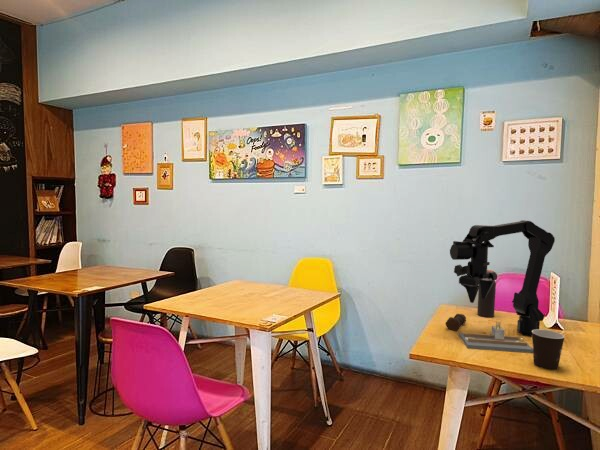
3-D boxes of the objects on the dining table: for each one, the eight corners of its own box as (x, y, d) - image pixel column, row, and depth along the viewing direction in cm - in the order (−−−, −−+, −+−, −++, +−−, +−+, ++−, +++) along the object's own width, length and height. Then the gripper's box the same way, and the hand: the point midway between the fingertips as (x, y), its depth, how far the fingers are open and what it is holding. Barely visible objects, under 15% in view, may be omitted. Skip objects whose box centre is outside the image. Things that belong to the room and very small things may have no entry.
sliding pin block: (500, 338, 145) (500, 321, 145) (503, 342, 141) (504, 324, 141) (491, 338, 146) (492, 320, 145) (494, 341, 142) (495, 323, 141)
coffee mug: (553, 373, 120) (555, 340, 119) (524, 363, 127) (526, 331, 126) (572, 365, 126) (574, 334, 125) (543, 356, 133) (545, 326, 132)
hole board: (519, 340, 149) (520, 334, 148) (534, 353, 136) (535, 346, 136) (458, 335, 152) (459, 329, 152) (467, 348, 139) (468, 341, 139)
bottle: (497, 317, 177) (500, 272, 176) (483, 317, 176) (486, 272, 175) (487, 313, 184) (489, 269, 183) (474, 313, 183) (476, 269, 181)
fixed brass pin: (523, 341, 143) (523, 337, 143) (525, 343, 141) (525, 339, 141) (517, 341, 143) (518, 337, 143) (519, 343, 142) (520, 338, 141)
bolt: (463, 326, 169) (454, 335, 157) (453, 318, 172) (442, 326, 159) (471, 316, 168) (462, 323, 155) (461, 308, 170) (451, 314, 158)
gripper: (470, 254, 163) (468, 293, 164) (445, 259, 151) (444, 300, 152) (498, 257, 155) (497, 298, 156) (475, 262, 143) (473, 306, 144)
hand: (477, 300), depth 152 cm, fingers open, 9 cm apart
